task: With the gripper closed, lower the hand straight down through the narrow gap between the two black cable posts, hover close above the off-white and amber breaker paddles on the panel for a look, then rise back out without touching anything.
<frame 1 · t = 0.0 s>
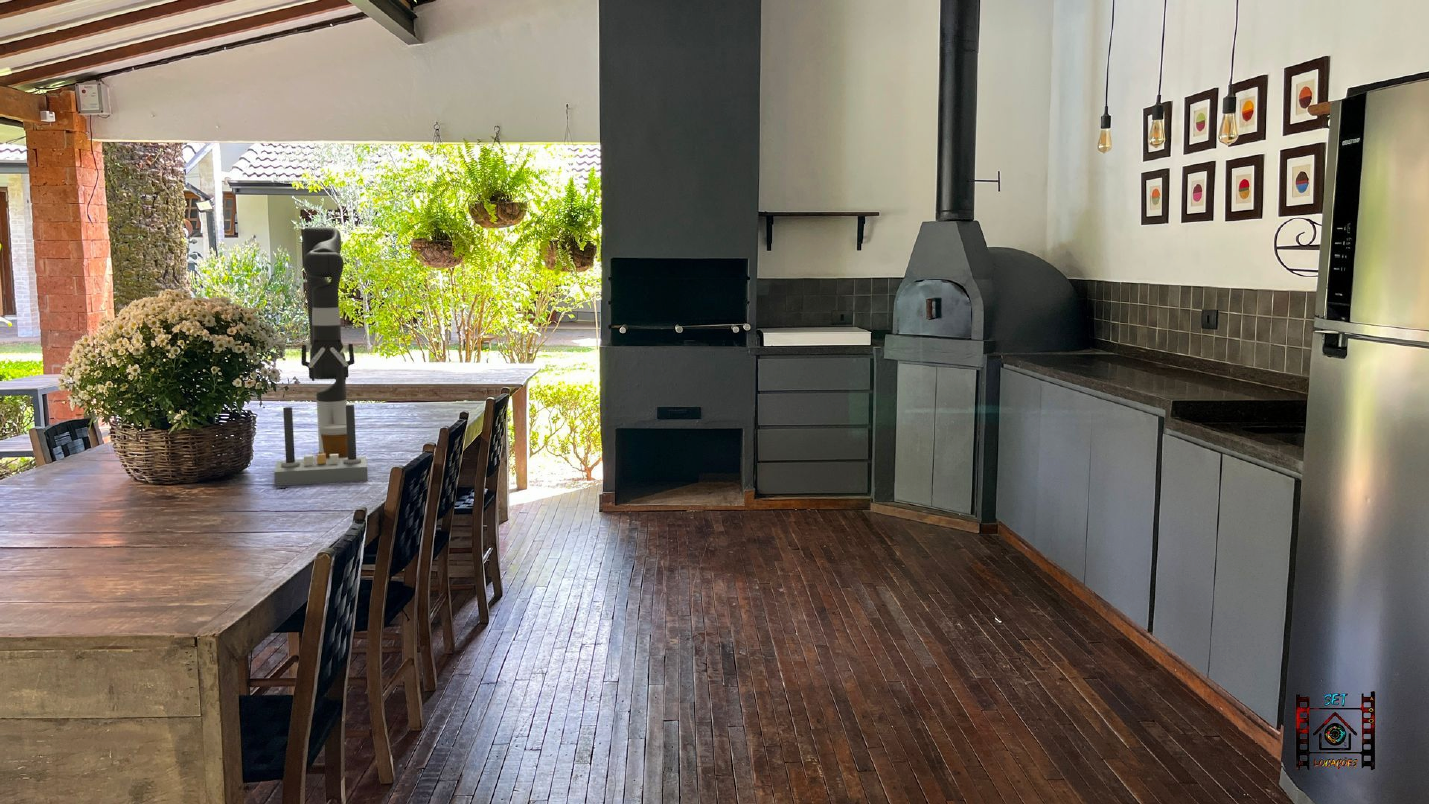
hand: (329, 380, 308), 29 cm above the table, fingers open, 8 cm apart
disposable coffee cup: (337, 464, 335), on the table
cable post 2: (352, 462, 318), point 4 cm above the table, touching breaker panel
center paddle: (321, 458, 315), point 6 cm above the table, hinge at 0.0°
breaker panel: (322, 477, 316), on the table
cable post 1: (290, 465, 313), point 4 cm above the table, touching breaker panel
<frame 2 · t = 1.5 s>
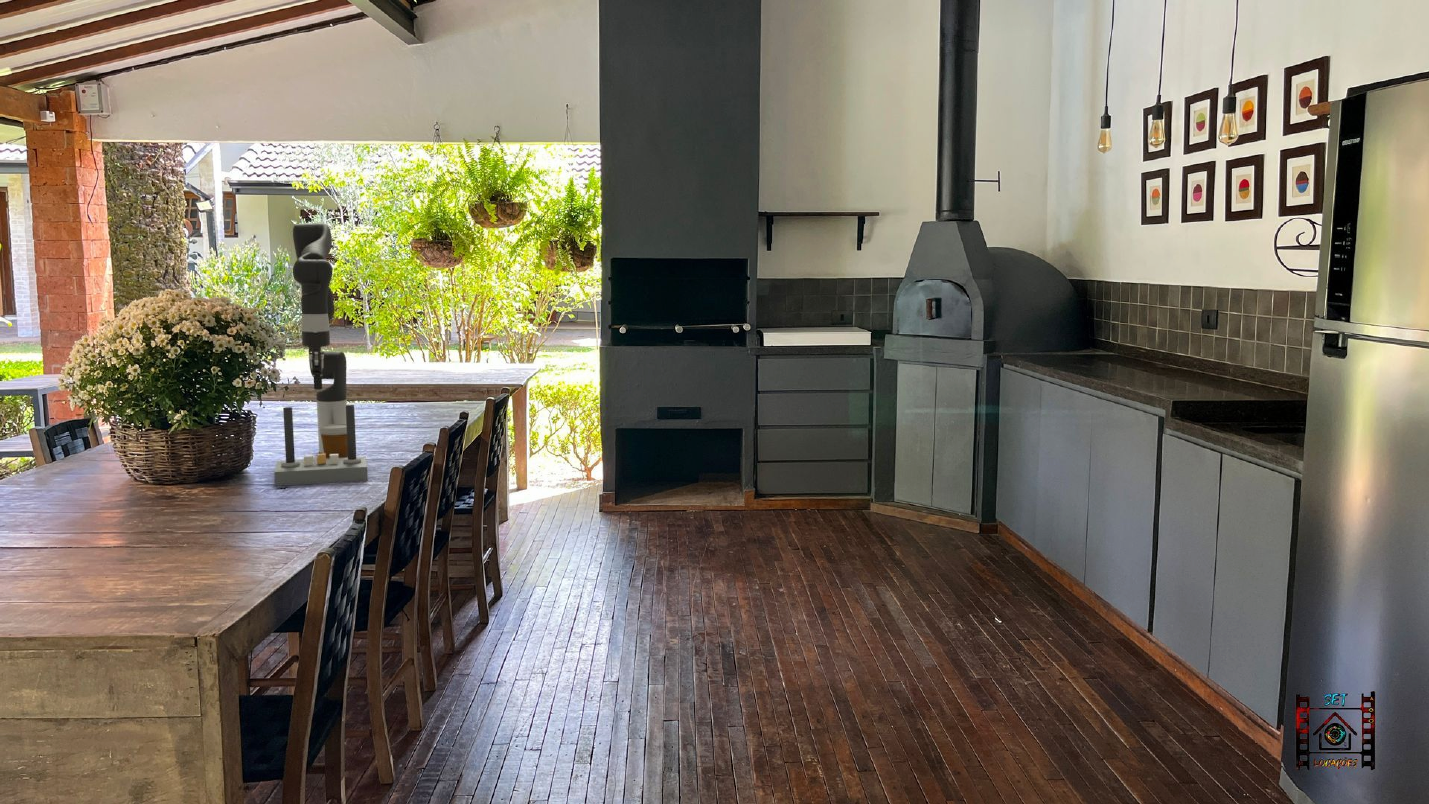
hand: (318, 389, 312), 26 cm above the table, fingers closed
nothing on the table moved.
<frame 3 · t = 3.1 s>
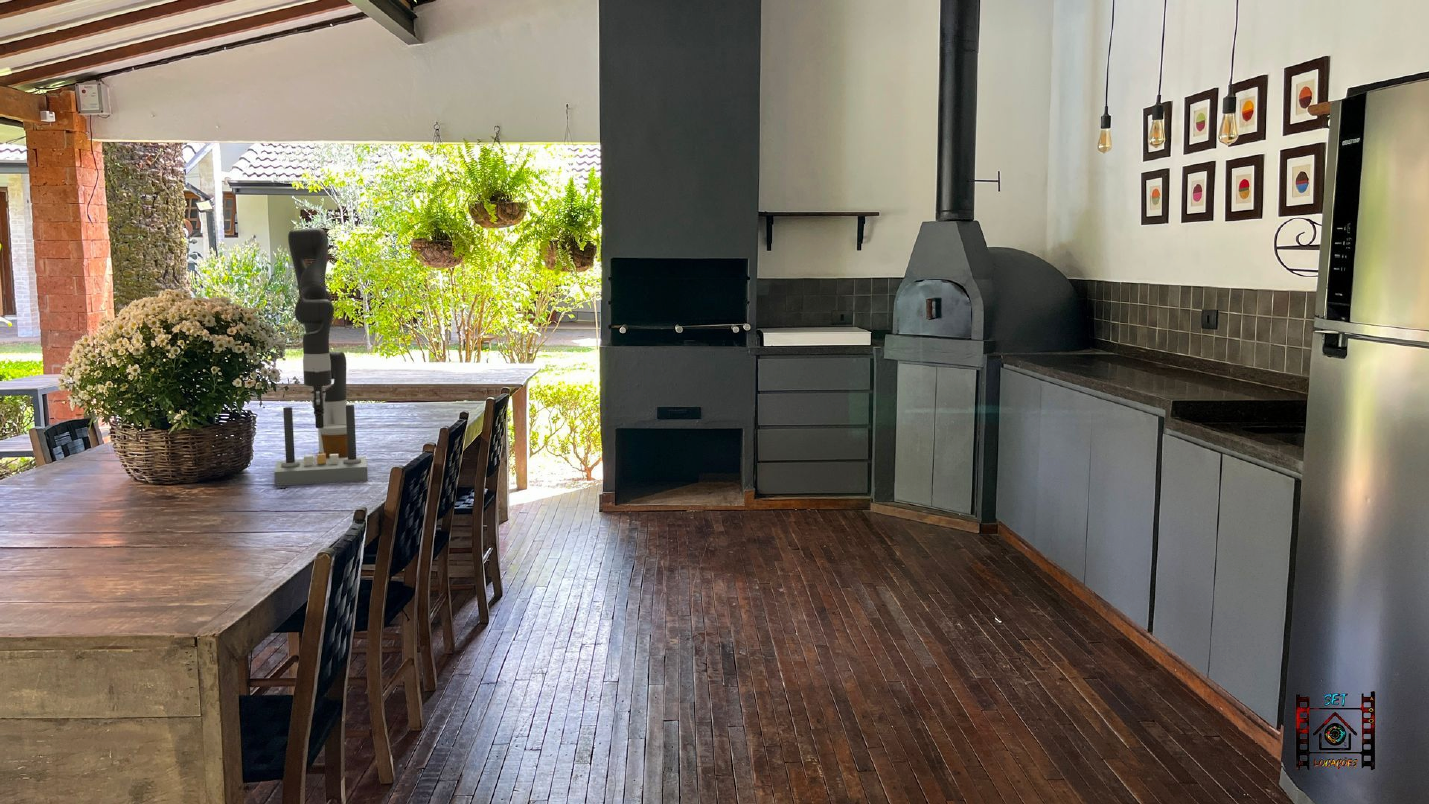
hand: (319, 427, 314), 15 cm above the table, fingers closed
nothing on the table moved.
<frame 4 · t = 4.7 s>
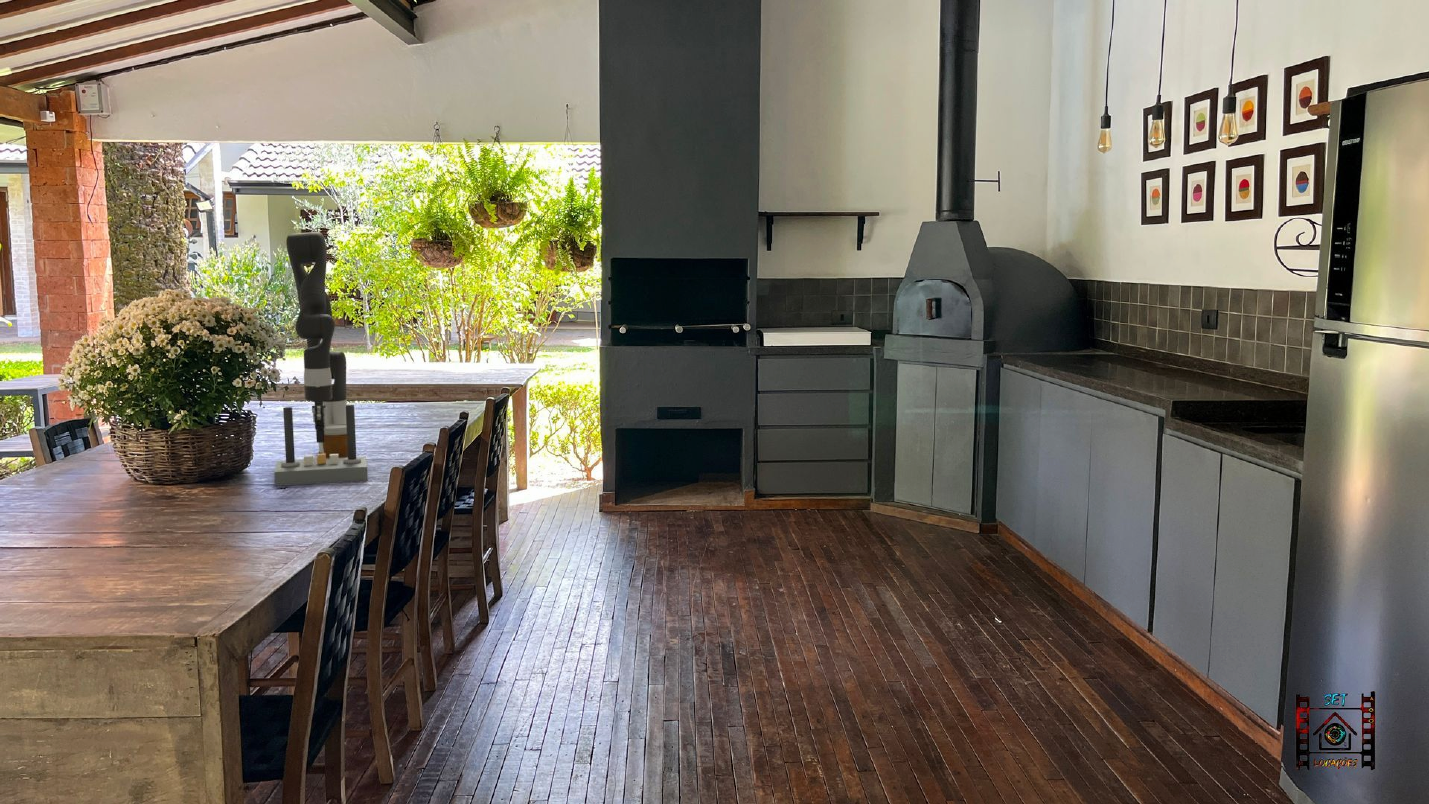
hand: (320, 442, 315), 11 cm above the table, fingers closed
nothing on the table moved.
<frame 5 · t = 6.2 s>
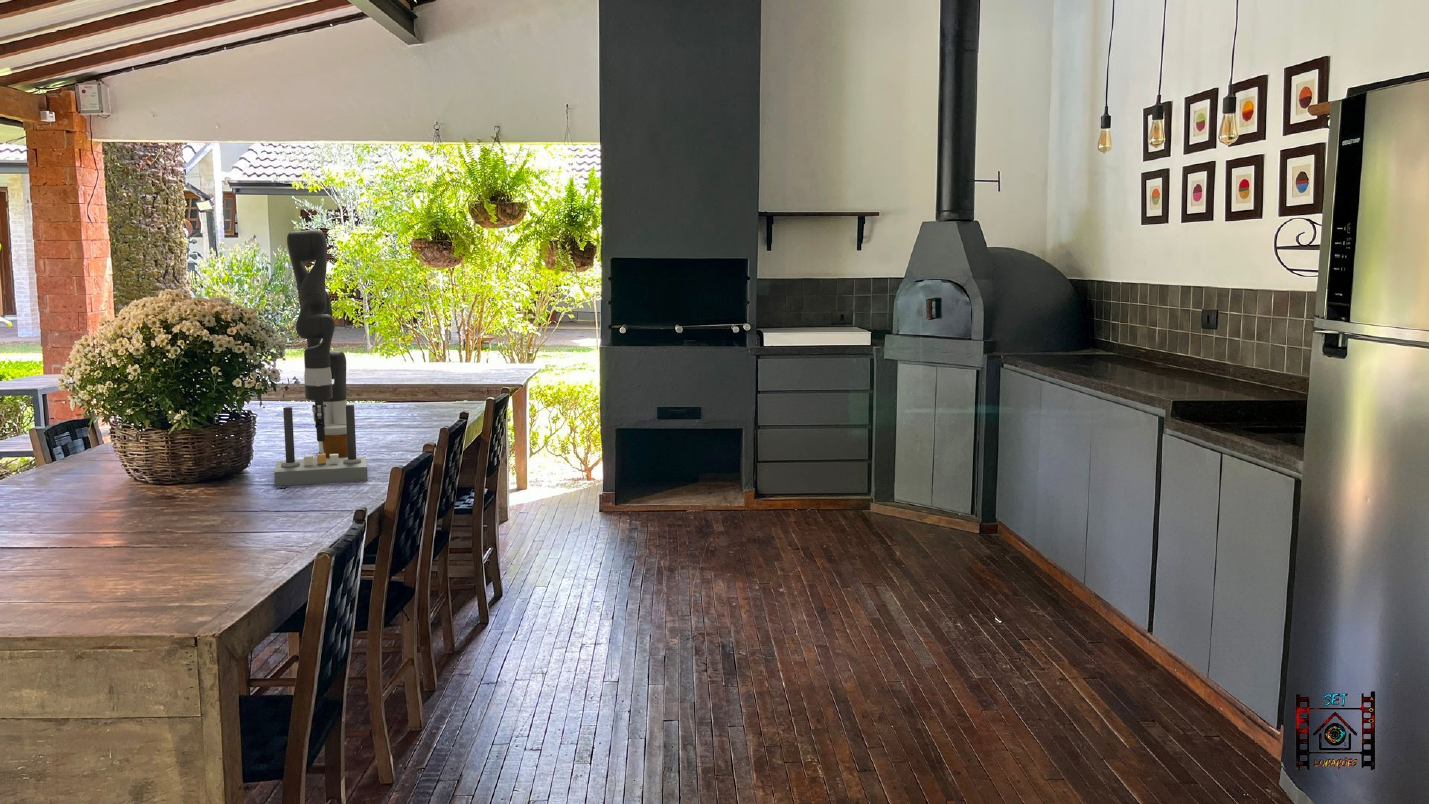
hand: (321, 441, 317), 10 cm above the table, fingers closed
nothing on the table moved.
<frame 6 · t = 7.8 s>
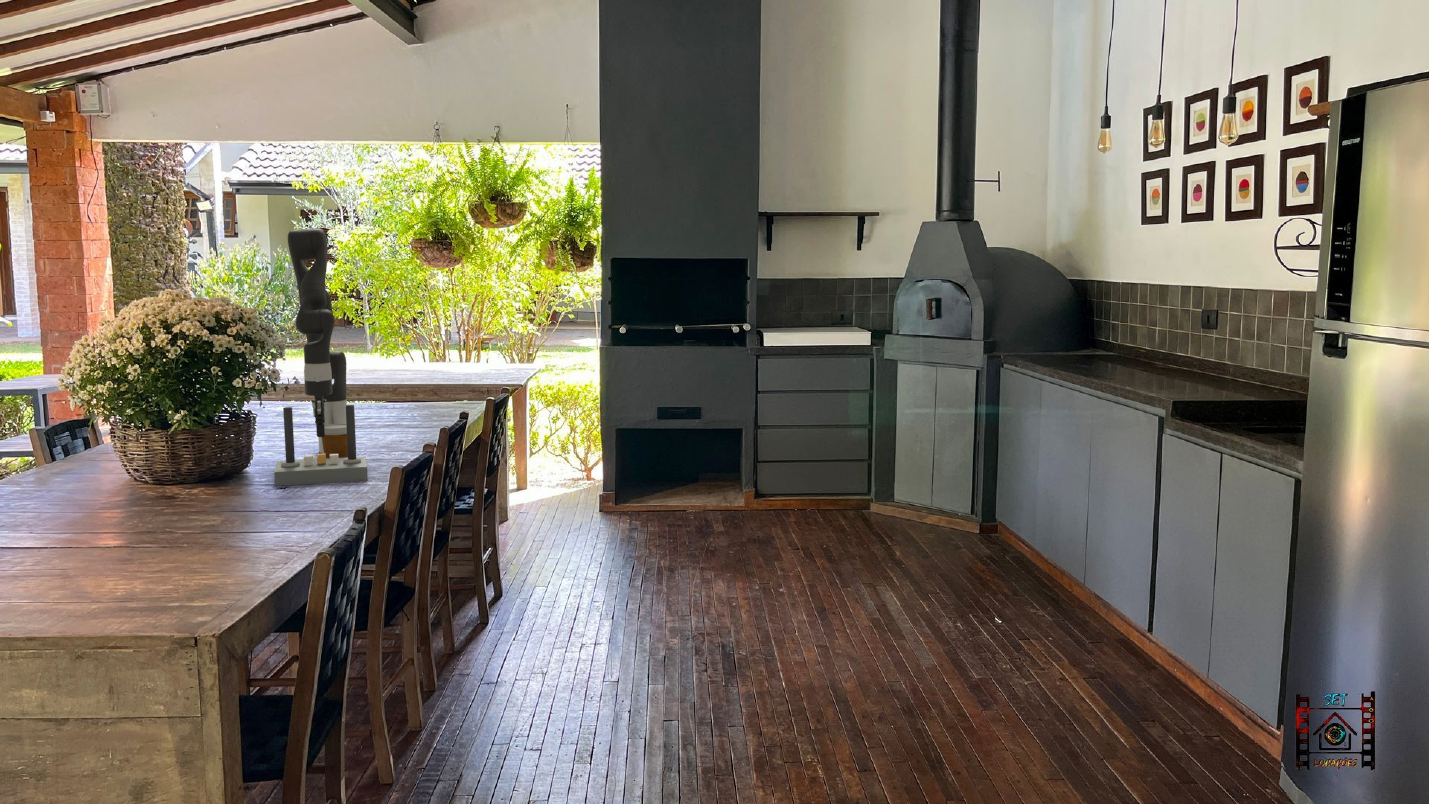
hand: (320, 436, 317), 12 cm above the table, fingers closed
nothing on the table moved.
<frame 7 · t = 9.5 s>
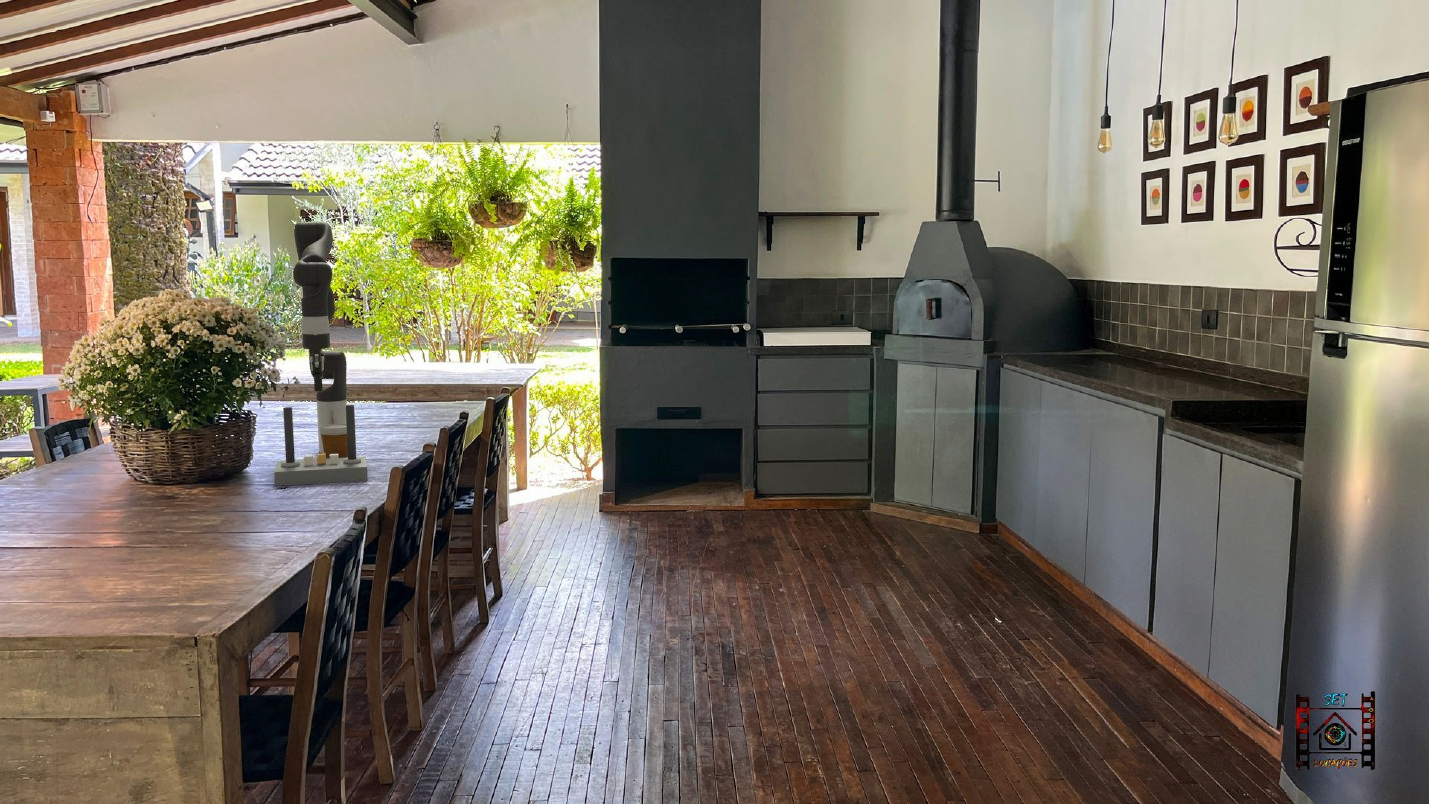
hand: (318, 390, 315), 25 cm above the table, fingers closed
nothing on the table moved.
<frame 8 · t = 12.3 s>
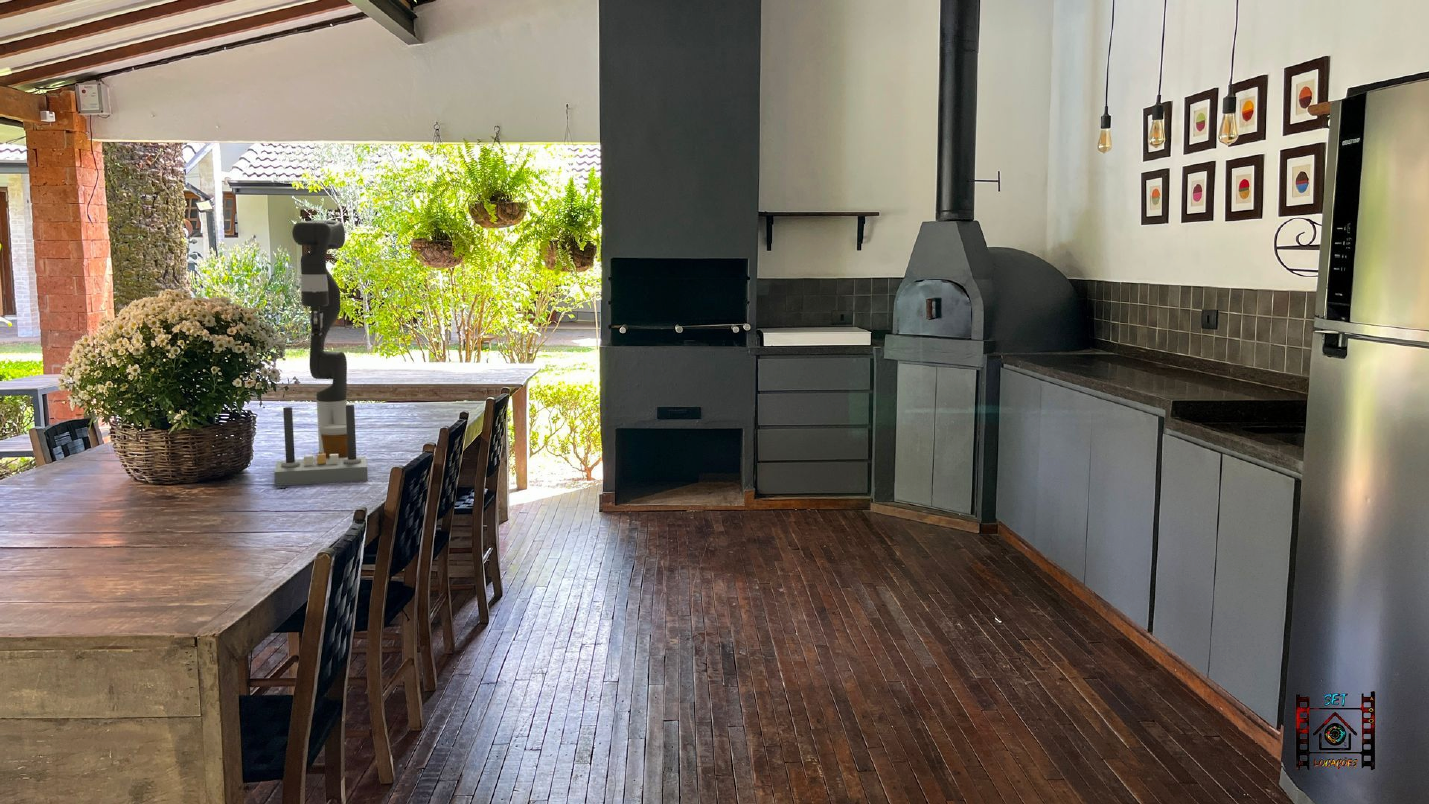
hand: (317, 347, 322), 37 cm above the table, fingers closed
nothing on the table moved.
at the end: cable post 2 moved 0.1 cm from its start; cable post 1 moved 0.1 cm from its start; center paddle at +0° (first picture: +0°) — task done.
